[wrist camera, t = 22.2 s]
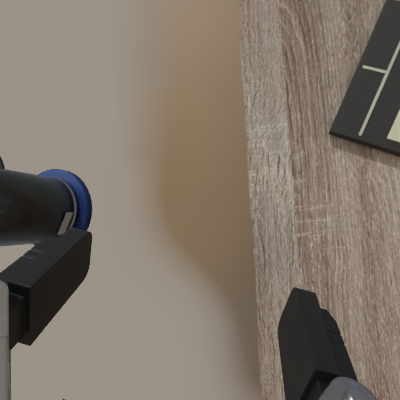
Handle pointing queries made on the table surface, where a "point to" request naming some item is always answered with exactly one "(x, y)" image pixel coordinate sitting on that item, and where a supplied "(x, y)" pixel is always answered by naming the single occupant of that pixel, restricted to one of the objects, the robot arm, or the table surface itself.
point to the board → (375, 89)
